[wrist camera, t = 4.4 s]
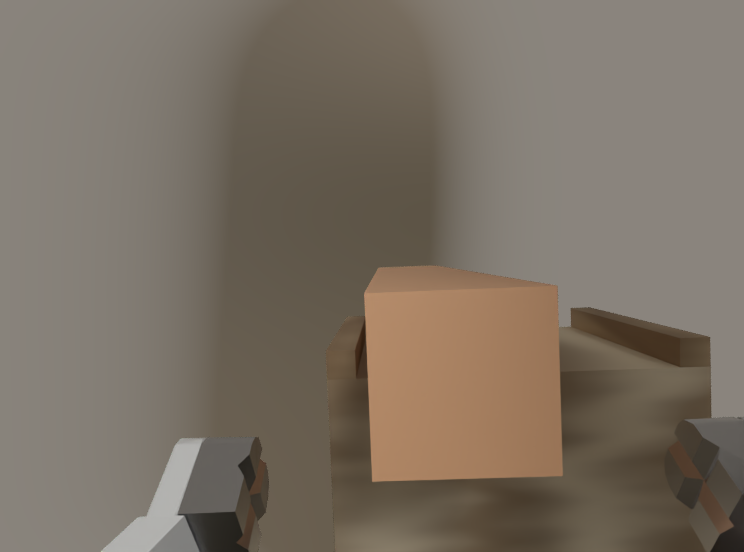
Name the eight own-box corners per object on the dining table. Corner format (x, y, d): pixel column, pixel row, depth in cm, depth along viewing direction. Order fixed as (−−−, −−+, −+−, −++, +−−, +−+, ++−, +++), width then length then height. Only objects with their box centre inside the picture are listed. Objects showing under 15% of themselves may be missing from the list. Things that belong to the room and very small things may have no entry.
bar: (437, 321, 31) (435, 265, 31) (562, 476, 9) (557, 285, 9) (380, 323, 31) (378, 267, 31) (372, 481, 9) (364, 293, 9)
